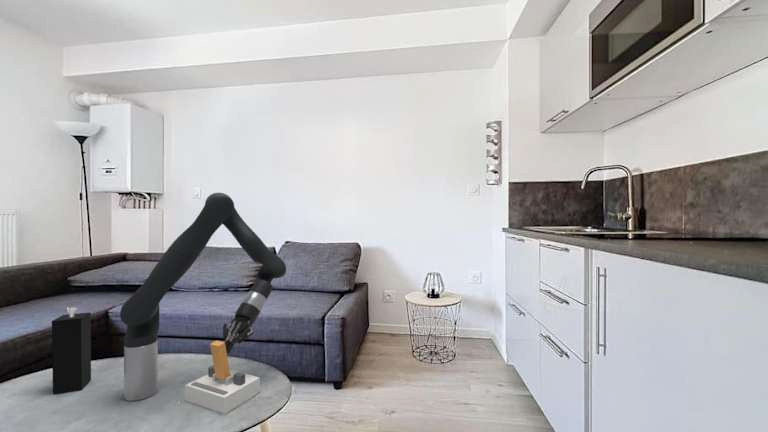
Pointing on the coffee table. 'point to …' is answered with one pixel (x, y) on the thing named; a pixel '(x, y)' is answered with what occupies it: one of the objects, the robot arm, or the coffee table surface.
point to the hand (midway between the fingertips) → (223, 353)
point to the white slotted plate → (222, 390)
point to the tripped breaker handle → (220, 360)
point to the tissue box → (71, 351)
